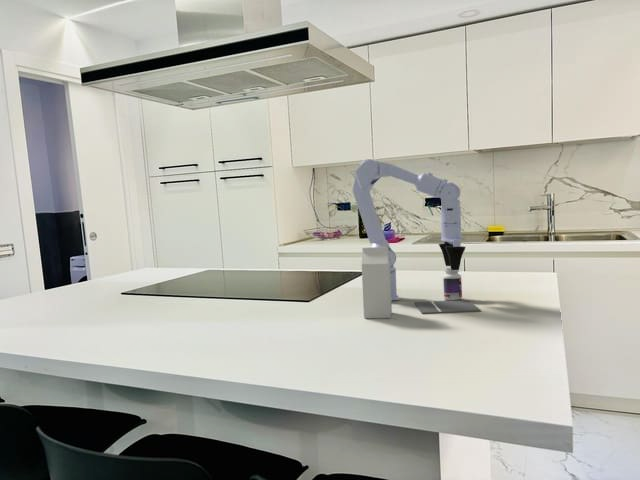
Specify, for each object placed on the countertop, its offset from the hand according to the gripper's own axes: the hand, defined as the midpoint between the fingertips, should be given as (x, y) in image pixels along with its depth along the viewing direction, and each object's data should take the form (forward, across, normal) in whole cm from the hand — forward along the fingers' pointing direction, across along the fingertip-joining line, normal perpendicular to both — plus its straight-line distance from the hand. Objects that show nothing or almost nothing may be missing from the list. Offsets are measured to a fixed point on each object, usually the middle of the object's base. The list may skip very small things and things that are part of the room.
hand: (452, 267), depth 150 cm
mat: (+10, -9, +4) cm, 14 cm away
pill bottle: (+10, 0, 0) cm, 10 cm away
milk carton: (+10, -15, +24) cm, 30 cm away
